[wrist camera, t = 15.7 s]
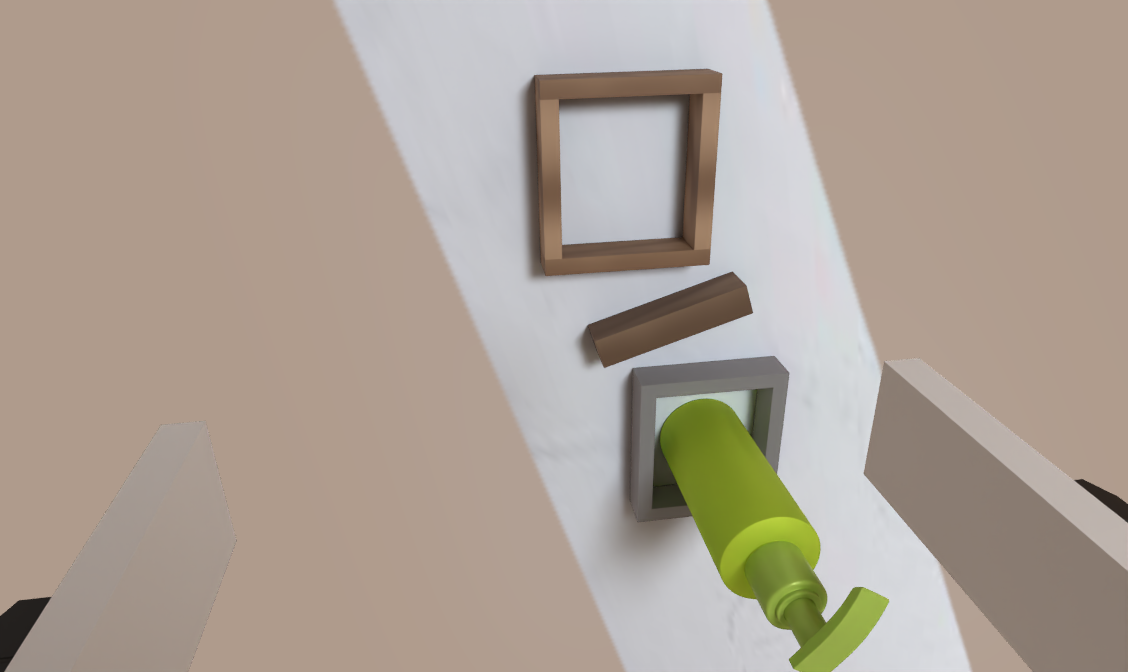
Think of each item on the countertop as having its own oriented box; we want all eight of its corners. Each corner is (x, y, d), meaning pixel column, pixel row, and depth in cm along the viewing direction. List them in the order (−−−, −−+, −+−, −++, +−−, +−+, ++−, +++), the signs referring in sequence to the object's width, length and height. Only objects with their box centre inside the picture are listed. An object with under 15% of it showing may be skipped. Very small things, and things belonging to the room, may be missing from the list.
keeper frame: (632, 368, 51) (641, 385, 49) (774, 355, 52) (789, 372, 50) (629, 500, 56) (637, 522, 53) (759, 486, 57) (772, 507, 55)
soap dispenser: (764, 408, 54) (924, 621, 36) (706, 480, 56) (831, 715, 38) (701, 373, 52) (837, 580, 34) (643, 448, 54) (743, 681, 36)
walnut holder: (534, 75, 42) (539, 80, 40) (707, 68, 43) (722, 73, 41) (540, 261, 47) (545, 275, 45) (696, 251, 48) (709, 264, 46)
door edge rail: (587, 325, 49) (594, 341, 47) (732, 271, 49) (746, 285, 47) (596, 350, 50) (604, 367, 48) (739, 298, 50) (753, 312, 48)
